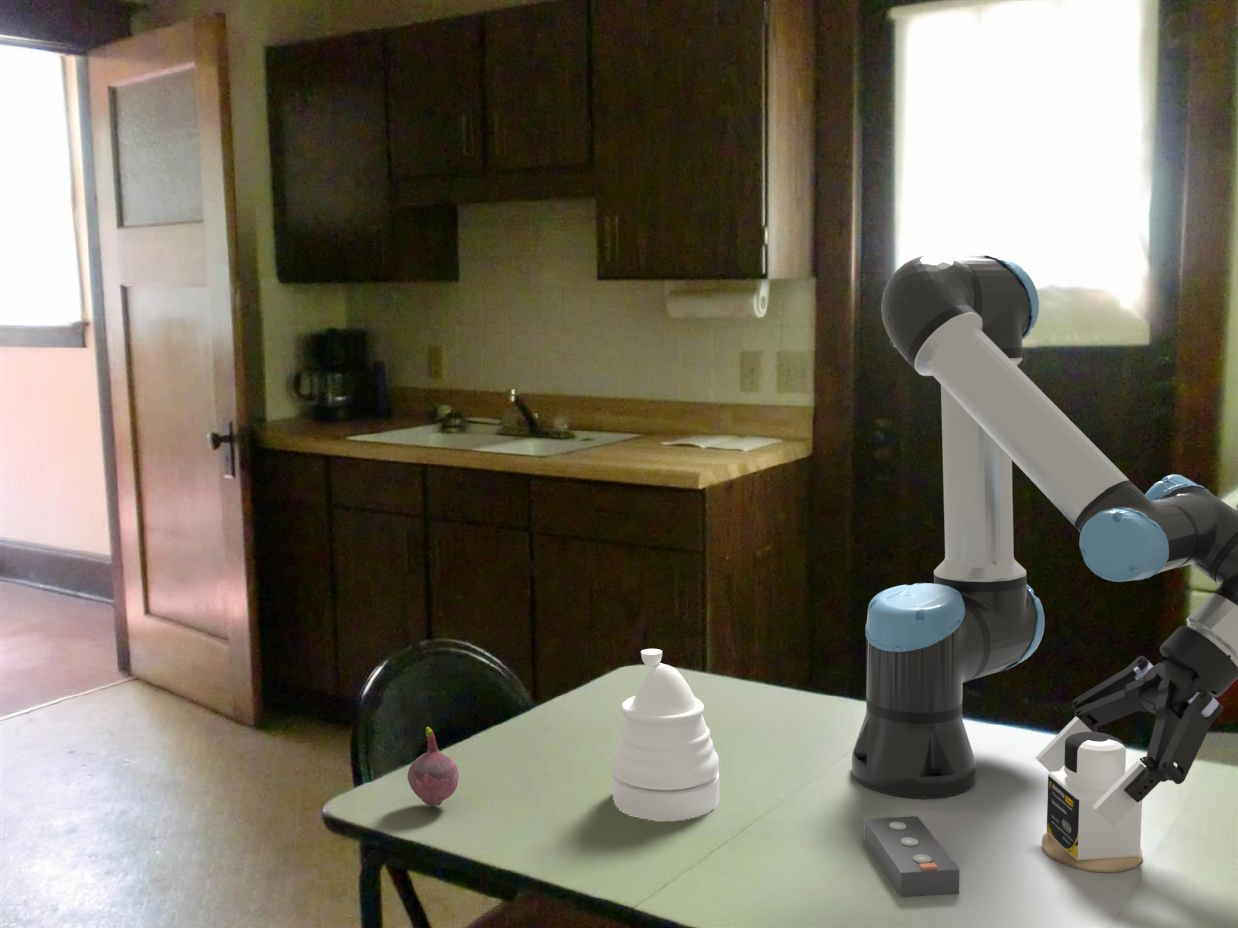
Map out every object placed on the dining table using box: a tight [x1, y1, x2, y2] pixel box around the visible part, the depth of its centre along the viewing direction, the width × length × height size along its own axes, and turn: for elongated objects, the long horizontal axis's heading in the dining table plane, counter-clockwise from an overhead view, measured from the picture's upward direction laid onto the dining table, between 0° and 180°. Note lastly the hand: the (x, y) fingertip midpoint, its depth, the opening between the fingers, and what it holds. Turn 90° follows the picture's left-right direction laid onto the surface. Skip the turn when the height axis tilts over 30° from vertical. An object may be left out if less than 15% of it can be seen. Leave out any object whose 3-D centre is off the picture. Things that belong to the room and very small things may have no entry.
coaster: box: [1041, 831, 1143, 873], centre depth 129 cm, size 10×10×1 cm
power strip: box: [863, 815, 961, 898], centre depth 126 cm, size 13×6×3 cm, turn 5°
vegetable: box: [407, 726, 459, 807], centre depth 143 cm, size 6×6×10 cm
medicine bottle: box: [1046, 731, 1143, 861], centre depth 128 cm, size 7×7×12 cm
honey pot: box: [611, 648, 720, 822], centre depth 144 cm, size 13×13×18 cm
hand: (1071, 790), depth 128 cm, fingers open, 13 cm apart
